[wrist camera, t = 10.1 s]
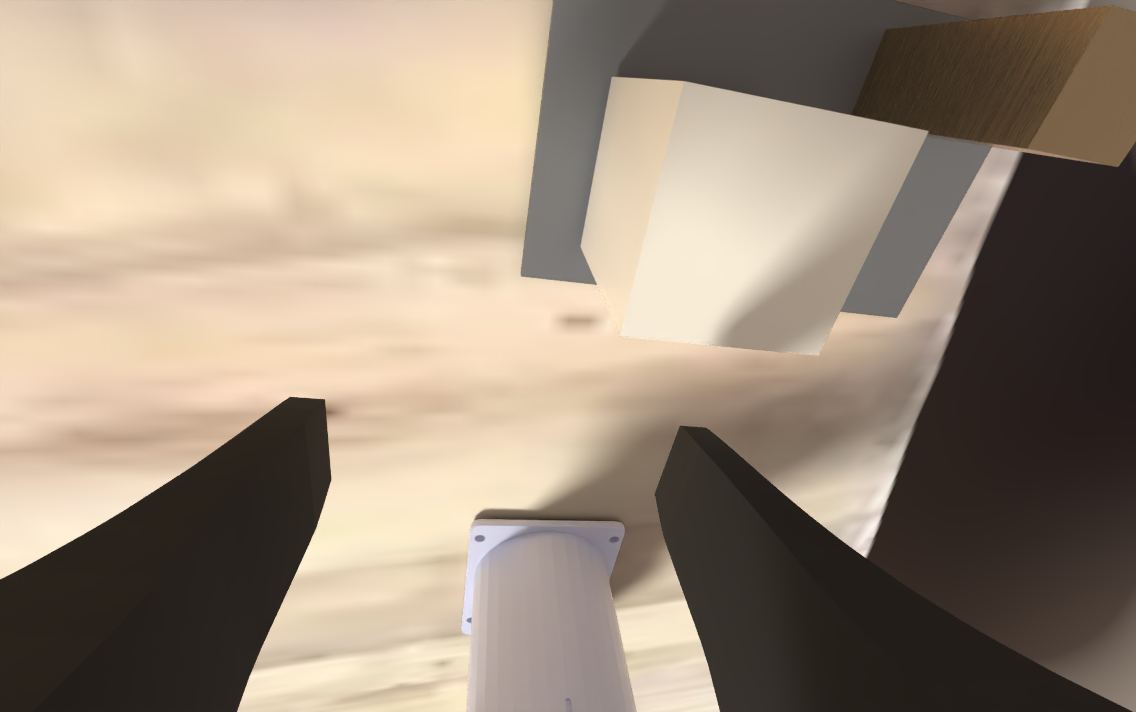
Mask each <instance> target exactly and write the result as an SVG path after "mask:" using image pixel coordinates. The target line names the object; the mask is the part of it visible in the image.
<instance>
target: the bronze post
mask: <svg viewBox="0 0 1136 712" xmlns="http://www.w3.org/2000/svg"><path fill="white" fill-rule="evenodd" d="M851 115H852V116H857V117H862V118H867V119H872V120H877V121H882V122H887V123H892V124H897V125H901V126H906V127H911V128H916V129H921V130H926V131H929V132H928V134H927V136H926V137H932V138H938V139H945V140H951V141H957V142H964V143H970V144H977V145H983V146H989V147H996V148H1002V149H1008V150H1015V151H1021V152H1027V153H1034V154H1041V155H1047V156H1053V157H1059V158H1065V159H1072V160H1078V161H1085V162H1091V163H1098V164H1104V165H1110V166H1117V167H1118V166H1119V165H1120V163H1121V162H1122V161H1123V159H1124V158H1125V156H1126V155H1127V153H1128V152H1129V150H1130V149H1131V148H1132V146H1133V145H1134V143H1135V142H1136V12H1134V11H1130V10H1127V9H1123V8H1119V7H1116V6H1102V7H1093V8H1083V9H1074V10H1064V11H1055V12H1045V13H1036V14H1026V15H1017V16H1007V17H998V18H988V19H979V20H970V21H960V22H951V23H941V24H932V25H922V26H913V27H903V28H894V29H886V31H885V33H884V36H883V38H882V41H881V43H880V46H879V48H878V51H877V53H876V55H875V58H874V60H873V63H872V65H871V68H870V70H869V73H868V75H867V77H866V80H865V82H864V85H863V87H862V90H861V92H860V95H859V97H858V100H857V102H856V104H855V107H854V109H853V112H852V114H851Z"/></svg>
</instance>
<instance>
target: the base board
mask: <svg viewBox="0 0 1136 712" xmlns="http://www.w3.org/2000/svg"><path fill="white" fill-rule="evenodd" d="M960 21H970V20H969V19H965V18H961V17H957V16H953V15H949V14H945V13H941V12H937V11H933V10H929V9H925V8H921V7H917V6H913V5H909V4H905V3H901V2H897V1H893V0H553V8H552V16H551V25H550V33H549V41H548V50H547V58H546V66H545V75H544V83H543V91H542V100H541V108H540V116H539V125H538V133H537V142H536V150H535V158H534V167H533V175H532V183H531V192H530V200H529V208H528V217H527V225H526V234H525V242H524V250H523V259H522V267H521V276H522V277H531V278H541V279H550V280H559V281H568V282H577V283H586V284H595V285H597V283H596V281H595V279H594V276H593V274H592V272H591V270H590V267H589V265H588V263H587V261H586V258H585V256H584V254H583V252H582V249H581V247H580V246H581V241H582V235H583V230H584V225H585V219H586V214H587V208H588V203H589V197H590V192H591V187H592V181H593V176H594V170H595V165H596V160H597V154H598V149H599V143H600V138H601V133H602V127H603V122H604V116H605V111H606V105H607V100H608V95H609V89H610V84H611V78H612V77H626V78H642V79H658V80H674V81H686V82H691V83H696V84H701V85H705V86H710V87H715V88H720V89H725V90H730V91H735V92H740V93H745V94H750V95H754V96H759V97H764V98H769V99H774V100H779V101H784V102H789V103H794V104H799V105H803V106H808V107H813V108H818V109H823V110H828V111H833V112H838V113H843V114H848V115H851V114H852V112H853V109H854V107H855V104H856V102H857V100H858V97H859V95H860V92H861V90H862V87H863V85H864V82H865V80H866V77H867V75H868V73H869V70H870V68H871V65H872V63H873V60H874V58H875V55H876V53H877V51H878V48H879V46H880V43H881V41H882V38H883V36H884V33H885V31H886V29H894V28H903V27H913V26H922V25H932V24H941V23H951V22H960ZM991 148H992V147H989V146H983V145H977V144H970V143H964V142H957V141H951V140H945V139H938V138H932V137H926V138H925V140H924V142H923V144H922V146H921V148H920V150H919V152H918V154H917V156H916V158H915V160H914V162H913V164H912V166H911V168H910V170H909V173H908V175H907V177H906V179H905V181H904V183H903V185H902V187H901V189H900V191H899V193H898V195H897V197H896V199H895V201H894V203H893V205H892V207H891V209H890V211H889V213H888V215H887V217H886V219H885V221H884V223H883V225H882V227H881V229H880V231H879V233H878V235H877V238H876V240H875V242H874V244H873V246H872V248H871V250H870V252H869V254H868V256H867V258H866V260H865V262H864V264H863V266H862V268H861V270H860V272H859V274H858V276H857V278H856V280H855V282H854V284H853V286H852V288H851V290H850V292H849V294H848V296H847V298H846V300H845V302H844V305H843V307H842V309H841V311H840V312H848V313H857V314H867V315H876V316H885V317H894V318H897V317H898V315H899V313H900V311H901V310H902V308H903V306H904V304H905V302H906V301H907V299H908V297H909V295H910V293H911V292H912V290H913V288H914V286H915V284H916V283H917V281H918V279H919V277H920V275H921V274H922V272H923V270H924V268H925V266H926V265H927V263H928V261H929V259H930V257H931V256H932V254H933V252H934V250H935V248H936V247H937V245H938V243H939V241H940V239H941V238H942V236H943V234H944V232H945V230H946V229H947V227H948V225H949V223H950V221H951V220H952V218H953V216H954V214H955V212H956V211H957V209H958V207H959V205H960V203H961V202H962V200H963V198H964V196H965V194H966V193H967V191H968V189H969V187H970V185H971V184H972V182H973V180H974V178H975V176H976V175H977V173H978V171H979V169H980V167H981V166H982V164H983V162H984V160H985V158H986V157H987V155H988V153H989V151H990V149H991Z"/></svg>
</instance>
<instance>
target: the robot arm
mask: <svg viewBox="0 0 1136 712" xmlns="http://www.w3.org/2000/svg"><path fill="white" fill-rule="evenodd" d="M330 482H331V469H330V456H329V444H328V432H327V419H326V407H325V399H311V398H298V397H289V398H288V399H286V400H285V401H283V402H282V403H281V404H279V405H278V406H276V407H275V408H274V409H272V410H271V411H270V412H268V413H267V414H265V415H264V416H263V417H261V418H260V419H258V420H257V421H256V422H254V423H253V424H252V425H250V426H249V427H247V428H246V429H245V430H243V431H242V432H240V433H239V434H238V435H236V436H235V437H234V438H232V439H231V440H229V441H228V442H227V443H225V444H224V445H222V446H221V447H220V448H218V449H217V450H215V451H214V452H212V453H211V454H209V455H208V456H207V457H205V458H204V459H202V460H201V461H199V462H198V463H197V464H195V465H194V466H192V467H191V468H189V469H188V470H186V471H185V472H183V473H182V474H180V475H179V476H177V477H176V478H174V479H172V480H171V481H169V482H168V483H166V484H165V485H163V486H162V487H160V488H158V489H157V490H155V491H154V492H152V493H151V494H149V495H148V496H146V497H144V498H143V499H141V500H140V501H138V502H137V503H135V504H134V505H132V506H130V507H129V508H127V509H126V510H124V511H123V512H121V513H119V514H118V515H116V516H114V517H113V518H111V519H109V520H108V521H106V522H104V523H102V524H101V525H99V526H97V527H96V528H94V529H92V530H90V531H89V532H87V533H85V534H84V535H82V536H80V537H78V538H76V539H75V540H73V541H71V542H69V543H67V544H66V545H64V546H62V547H60V548H58V549H57V550H55V551H53V552H51V553H49V554H48V555H46V556H44V557H42V558H40V559H39V560H37V561H35V562H33V563H31V564H29V565H28V566H26V567H24V568H22V569H20V570H18V571H16V572H14V573H12V574H10V575H8V576H6V577H4V578H2V579H0V712H237V710H238V707H239V704H240V701H241V699H242V696H243V693H244V690H245V687H246V685H247V682H248V679H249V676H250V674H251V672H252V669H253V667H254V664H255V662H256V660H257V657H258V655H259V652H260V650H261V648H262V645H263V643H264V641H265V639H266V637H267V635H268V632H269V630H270V628H271V626H272V624H273V622H274V619H275V617H276V615H277V613H278V611H279V609H280V606H281V604H282V602H283V600H284V598H285V595H286V593H287V591H288V589H289V587H290V585H291V582H292V580H293V578H294V576H295V574H296V572H297V569H298V567H299V565H300V563H301V561H302V558H303V556H304V554H305V552H306V550H307V547H308V545H309V543H310V541H311V538H312V536H313V534H314V532H315V529H316V527H317V524H318V521H319V518H320V514H321V511H322V508H323V505H324V502H325V499H326V495H327V492H328V489H329V485H330ZM655 497H656V502H657V507H658V512H659V517H660V522H661V526H662V530H663V535H664V539H665V542H666V545H667V548H668V551H669V553H670V556H671V559H672V562H673V565H674V568H675V571H676V573H677V576H678V579H679V582H680V585H681V587H682V590H683V593H684V596H685V599H686V601H687V604H688V607H689V610H690V613H691V615H692V618H693V621H694V624H695V627H696V629H697V632H698V635H699V638H700V640H701V644H702V647H703V650H704V653H705V656H706V660H707V663H708V666H709V670H710V674H711V678H712V682H713V686H714V689H715V693H716V697H717V701H718V705H719V709H720V712H1132V711H1130V710H1128V709H1126V708H1124V707H1122V706H1120V705H1118V704H1116V703H1114V702H1112V701H1110V700H1108V699H1106V698H1104V697H1102V696H1100V695H1098V694H1096V693H1094V692H1092V691H1090V690H1088V689H1086V688H1084V687H1082V686H1080V685H1078V684H1076V683H1074V682H1072V681H1070V680H1068V679H1066V678H1064V677H1062V676H1060V675H1058V674H1056V673H1054V672H1052V671H1050V670H1048V669H1047V668H1045V667H1043V666H1041V665H1039V664H1038V663H1036V662H1034V661H1032V660H1030V659H1028V658H1027V657H1025V656H1023V655H1021V654H1019V653H1018V652H1016V651H1014V650H1012V649H1010V648H1008V647H1007V646H1005V645H1003V644H1001V643H999V642H997V641H996V640H994V639H992V638H991V637H989V636H987V635H985V634H983V633H982V632H980V631H978V630H977V629H975V628H973V627H971V626H970V625H968V624H966V623H965V622H963V621H961V620H960V619H958V618H957V617H955V616H953V615H951V614H950V613H948V612H947V611H945V610H944V609H942V608H940V607H939V606H937V605H935V604H934V603H932V602H931V601H929V600H927V599H926V598H924V597H923V596H921V595H919V594H918V593H916V592H915V591H913V590H911V589H910V588H909V587H907V586H906V585H904V584H902V583H901V582H899V581H898V580H896V579H895V578H893V577H892V576H891V575H889V574H888V573H886V572H885V571H883V570H882V569H880V568H879V567H877V566H876V565H875V564H873V563H872V562H871V561H869V560H868V559H866V558H865V557H863V556H862V555H861V554H859V553H858V552H856V551H855V550H854V549H852V548H851V547H849V546H848V545H847V544H845V543H844V542H843V541H841V540H840V539H839V538H837V537H836V536H835V535H834V534H832V533H831V532H830V531H829V530H827V529H826V528H825V527H823V526H822V525H821V524H820V523H818V522H817V521H816V520H815V519H813V518H812V517H811V516H809V515H808V514H807V513H806V512H805V511H803V510H802V509H801V508H800V507H799V506H797V505H796V504H795V503H794V502H792V501H791V500H790V499H789V498H788V497H787V496H785V495H784V494H783V493H782V492H781V491H779V490H778V489H777V488H776V487H775V486H774V485H773V484H771V483H770V482H769V481H768V480H767V479H766V478H764V477H763V476H762V475H761V474H760V473H759V472H758V471H756V470H755V469H754V468H753V467H752V466H751V465H750V464H749V463H747V462H746V461H745V460H744V459H743V458H742V457H741V456H739V455H738V454H737V453H736V452H735V451H734V450H733V449H731V448H730V447H729V446H728V445H727V444H726V443H724V442H723V441H722V440H721V439H720V438H718V437H717V436H716V435H715V434H714V433H712V432H711V431H710V430H708V429H707V428H703V427H690V426H680V427H679V430H678V433H677V435H676V438H675V441H674V443H673V446H672V449H671V452H670V454H669V457H668V460H667V462H666V465H665V468H664V470H663V473H662V476H661V479H660V481H659V484H658V487H657V489H656V492H655ZM624 534H625V528H624V525H623V524H622V523H621V522H617V521H563V520H506V519H478V520H476V521H474V522H473V523H472V524H471V528H470V539H469V551H468V562H467V573H466V584H465V595H464V606H463V617H462V629H461V630H462V632H463V633H464V634H467V635H471V639H470V657H469V675H468V693H467V711H466V712H636V707H635V702H634V697H633V692H632V688H631V683H630V678H629V673H628V669H627V664H626V659H625V654H624V649H623V645H622V640H621V635H620V630H619V626H618V621H617V616H616V611H615V606H614V602H613V597H612V592H611V587H610V582H609V581H610V578H611V575H612V571H613V568H614V565H615V562H616V559H617V556H618V553H619V550H620V547H621V544H622V541H623V538H624Z"/></svg>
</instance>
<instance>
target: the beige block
mask: <svg viewBox="0 0 1136 712" xmlns="http://www.w3.org/2000/svg"><path fill="white" fill-rule="evenodd" d="M928 132H929V131H926V130H921V129H916V128H911V127H906V126H901V125H897V124H892V123H887V122H882V121H877V120H872V119H867V118H862V117H857V116H852V115H848V114H843V113H838V112H833V111H828V110H823V109H818V108H813V107H808V106H803V105H799V104H794V103H789V102H784V101H779V100H774V99H769V98H764V97H759V96H754V95H750V94H745V93H740V92H735V91H730V90H725V89H720V88H715V87H710V86H705V85H701V84H696V83H691V82H686V81H674V80H658V79H642V78H626V77H612V78H611V84H610V89H609V95H608V100H607V105H606V111H605V116H604V122H603V127H602V133H601V138H600V143H599V149H598V154H597V160H596V165H595V170H594V176H593V181H592V187H591V192H590V197H589V203H588V208H587V214H586V219H585V225H584V230H583V235H582V241H581V246H580V247H581V249H582V252H583V254H584V256H585V258H586V261H587V263H588V265H589V267H590V270H591V272H592V274H593V276H594V279H595V281H596V283H597V286H598V288H599V290H600V292H601V295H602V297H603V299H604V301H605V304H606V306H607V308H608V310H609V313H610V315H611V317H612V319H613V322H614V324H615V326H616V329H617V331H618V333H619V335H620V337H629V338H640V339H650V340H661V341H671V342H681V343H692V344H702V345H713V346H723V347H734V348H744V349H755V350H765V351H775V352H786V353H796V354H807V355H817V356H818V355H819V353H820V351H821V349H822V347H823V345H824V343H825V341H826V339H827V337H828V335H829V333H830V331H831V329H832V327H833V325H834V323H835V321H836V319H837V317H838V315H839V313H840V311H841V309H842V307H843V305H844V302H845V300H846V298H847V296H848V294H849V292H850V290H851V288H852V286H853V284H854V282H855V280H856V278H857V276H858V274H859V272H860V270H861V268H862V266H863V264H864V262H865V260H866V258H867V256H868V254H869V252H870V250H871V248H872V246H873V244H874V242H875V240H876V238H877V235H878V233H879V231H880V229H881V227H882V225H883V223H884V221H885V219H886V217H887V215H888V213H889V211H890V209H891V207H892V205H893V203H894V201H895V199H896V197H897V195H898V193H899V191H900V189H901V187H902V185H903V183H904V181H905V179H906V177H907V175H908V173H909V170H910V168H911V166H912V164H913V162H914V160H915V158H916V156H917V154H918V152H919V150H920V148H921V146H922V144H923V142H924V140H925V138H926V136H927V134H928Z"/></svg>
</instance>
